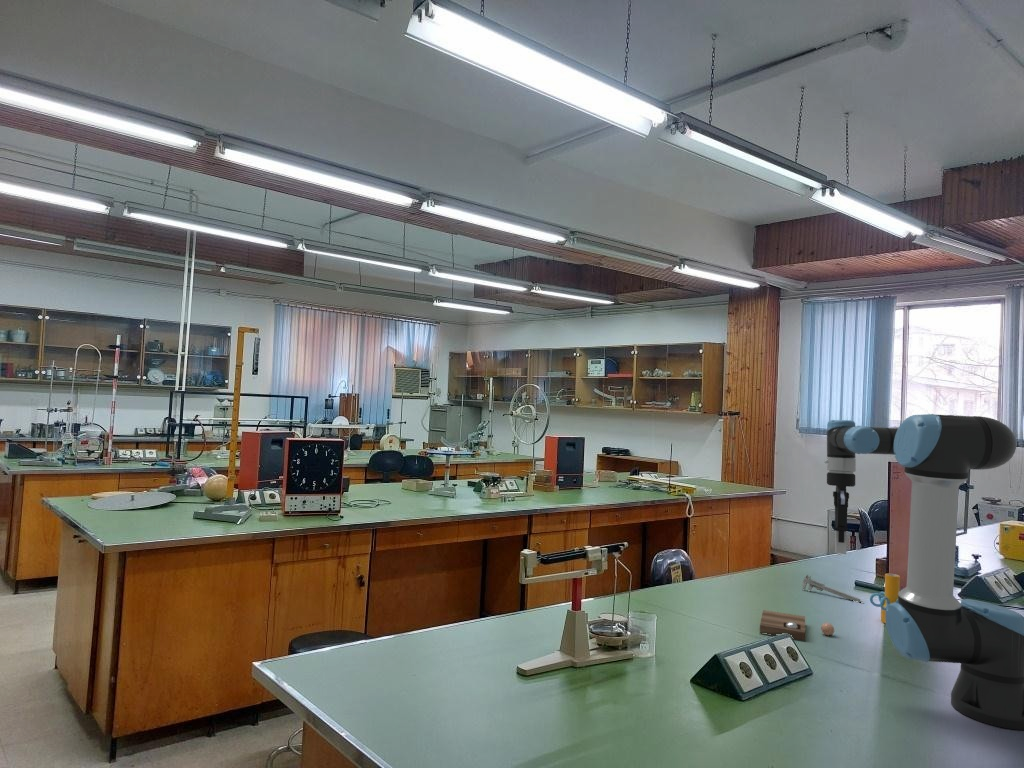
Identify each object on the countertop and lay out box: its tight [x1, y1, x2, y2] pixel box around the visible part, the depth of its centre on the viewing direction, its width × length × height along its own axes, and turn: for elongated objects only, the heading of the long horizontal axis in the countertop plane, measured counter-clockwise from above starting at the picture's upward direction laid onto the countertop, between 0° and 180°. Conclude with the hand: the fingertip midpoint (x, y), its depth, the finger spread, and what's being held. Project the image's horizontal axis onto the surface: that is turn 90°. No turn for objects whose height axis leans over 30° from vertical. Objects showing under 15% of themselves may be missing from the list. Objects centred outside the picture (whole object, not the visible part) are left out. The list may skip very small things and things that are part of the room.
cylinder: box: [869, 572, 901, 625], centre depth 200 cm, size 12×10×15 cm
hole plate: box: [759, 609, 806, 642], centre depth 189 cm, size 16×12×2 cm
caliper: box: [802, 574, 864, 603], centre depth 228 cm, size 20×1×6 cm, turn 46°
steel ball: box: [785, 622, 798, 629], centre depth 185 cm, size 4×4×4 cm
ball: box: [820, 622, 835, 637], centre depth 185 cm, size 4×4×4 cm
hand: (840, 553), depth 185 cm, fingers closed
